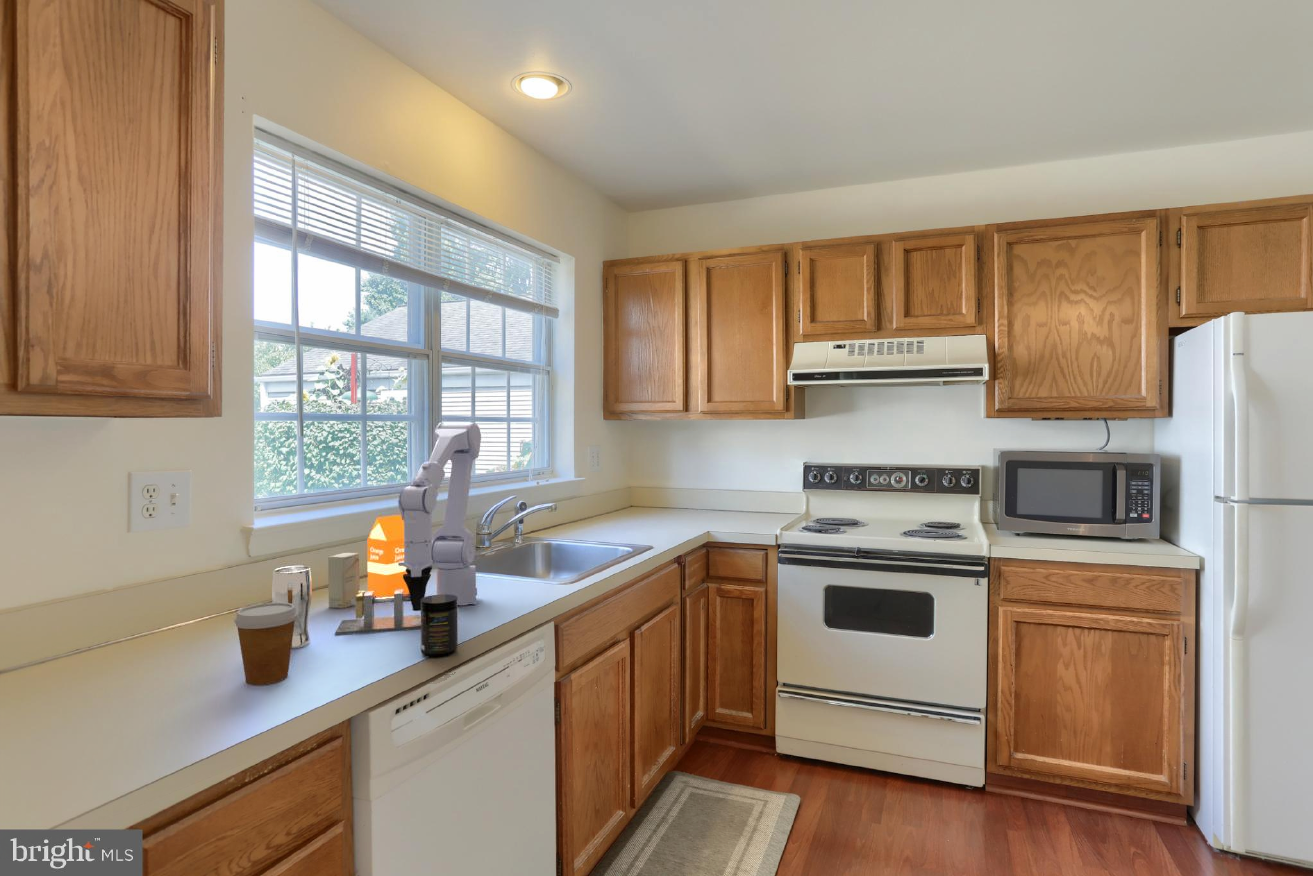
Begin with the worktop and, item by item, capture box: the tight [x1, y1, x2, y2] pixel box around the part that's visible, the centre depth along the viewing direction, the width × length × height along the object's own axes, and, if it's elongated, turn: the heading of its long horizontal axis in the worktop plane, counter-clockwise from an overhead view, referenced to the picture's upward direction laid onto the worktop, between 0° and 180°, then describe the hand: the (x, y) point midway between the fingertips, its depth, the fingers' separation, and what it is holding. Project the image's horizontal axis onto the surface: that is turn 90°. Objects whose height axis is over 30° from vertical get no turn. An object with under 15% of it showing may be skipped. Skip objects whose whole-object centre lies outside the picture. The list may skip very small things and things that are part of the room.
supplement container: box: [420, 594, 459, 659], centre depth 132 cm, size 7×7×10 cm
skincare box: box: [327, 552, 361, 609], centre depth 167 cm, size 6×4×12 cm
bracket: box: [334, 589, 421, 636], centre depth 150 cm, size 18×9×7 cm, turn 106°
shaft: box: [351, 595, 421, 612], centre depth 150 cm, size 15×2×6 cm, turn 106°
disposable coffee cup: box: [233, 602, 298, 686], centre depth 119 cm, size 10×10×12 cm
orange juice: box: [366, 514, 409, 598], centre depth 178 cm, size 8×9×20 cm
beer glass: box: [271, 565, 313, 650], centre depth 137 cm, size 7×7×15 cm
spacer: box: [355, 590, 366, 619], centre depth 149 cm, size 1×5×5 cm, turn 16°
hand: (418, 603), depth 152 cm, fingers open, 5 cm apart
